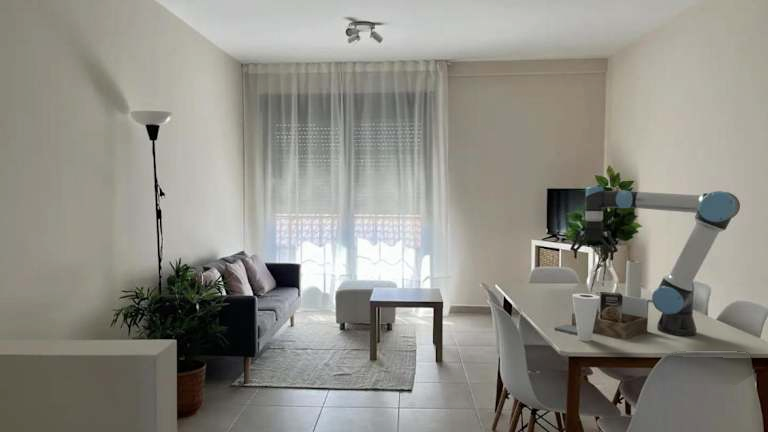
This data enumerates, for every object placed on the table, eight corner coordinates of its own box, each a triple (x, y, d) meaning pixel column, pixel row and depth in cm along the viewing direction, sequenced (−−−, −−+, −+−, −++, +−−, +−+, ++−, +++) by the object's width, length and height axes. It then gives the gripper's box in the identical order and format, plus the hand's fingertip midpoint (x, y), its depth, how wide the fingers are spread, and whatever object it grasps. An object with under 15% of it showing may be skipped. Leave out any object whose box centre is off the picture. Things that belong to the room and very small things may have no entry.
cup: (566, 339, 220) (567, 295, 219) (578, 334, 227) (579, 292, 226) (591, 344, 212) (593, 299, 211) (602, 339, 220) (604, 296, 219)
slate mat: (587, 331, 234) (587, 328, 233) (575, 334, 227) (575, 332, 227) (567, 326, 241) (567, 324, 241) (554, 329, 235) (554, 327, 235)
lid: (647, 317, 235) (648, 299, 234) (647, 317, 234) (647, 299, 234) (596, 307, 253) (596, 291, 253) (595, 308, 253) (595, 291, 252)
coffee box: (599, 330, 235) (600, 293, 235) (597, 326, 242) (598, 291, 241) (621, 331, 233) (623, 295, 233) (618, 328, 240) (620, 292, 239)
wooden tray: (647, 331, 235) (647, 317, 235) (624, 339, 222) (625, 324, 221) (595, 320, 253) (596, 307, 253) (571, 327, 240) (572, 313, 240)
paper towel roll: (622, 296, 313) (624, 260, 312) (631, 296, 315) (632, 260, 314) (632, 299, 307) (633, 262, 306) (640, 298, 308) (642, 261, 307)
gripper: (624, 220, 243) (623, 267, 243) (566, 219, 254) (566, 264, 255) (623, 221, 236) (622, 269, 237) (564, 220, 247) (563, 266, 248)
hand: (593, 266), depth 246 cm, fingers open, 13 cm apart
